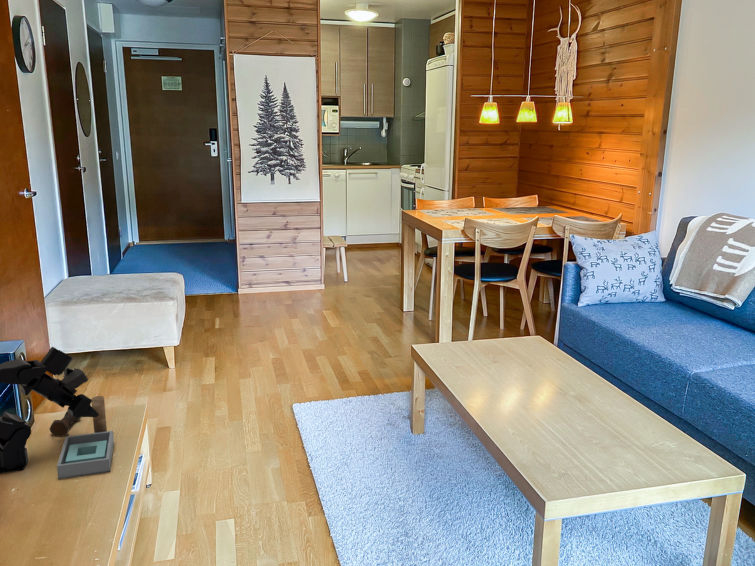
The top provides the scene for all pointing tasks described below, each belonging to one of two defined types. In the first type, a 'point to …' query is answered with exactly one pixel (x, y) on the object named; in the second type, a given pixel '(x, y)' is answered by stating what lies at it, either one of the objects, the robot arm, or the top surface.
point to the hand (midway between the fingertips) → (91, 410)
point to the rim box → (86, 455)
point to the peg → (101, 419)
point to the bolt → (62, 425)
